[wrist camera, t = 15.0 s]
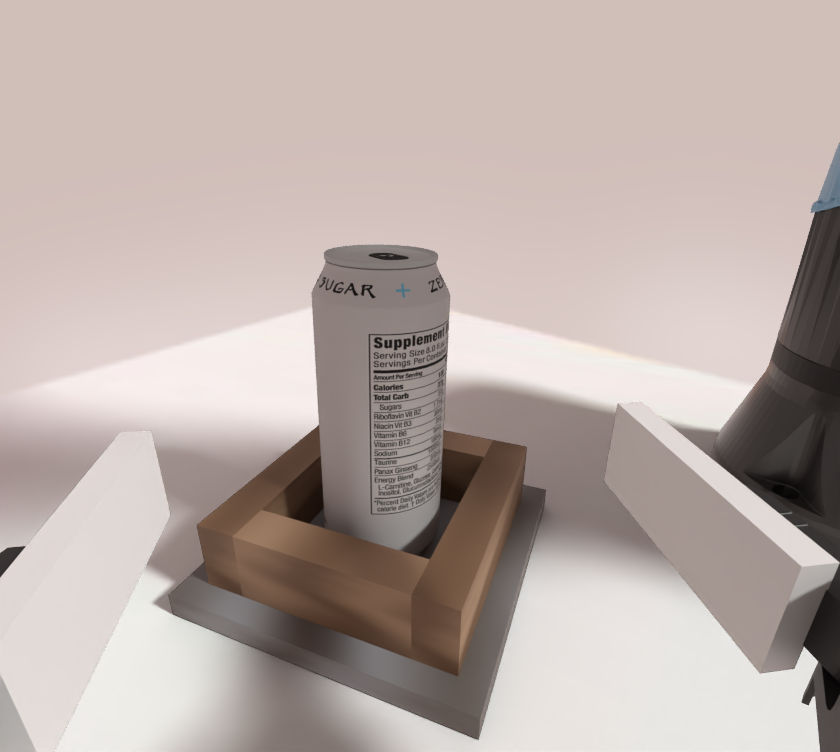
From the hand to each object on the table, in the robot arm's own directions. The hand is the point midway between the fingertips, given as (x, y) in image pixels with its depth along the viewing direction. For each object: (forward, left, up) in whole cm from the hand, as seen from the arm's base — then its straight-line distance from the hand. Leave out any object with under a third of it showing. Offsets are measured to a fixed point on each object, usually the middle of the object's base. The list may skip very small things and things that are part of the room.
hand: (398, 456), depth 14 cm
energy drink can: (+5, -8, -11) cm, 14 cm away
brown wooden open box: (+5, -8, -12) cm, 15 cm away
